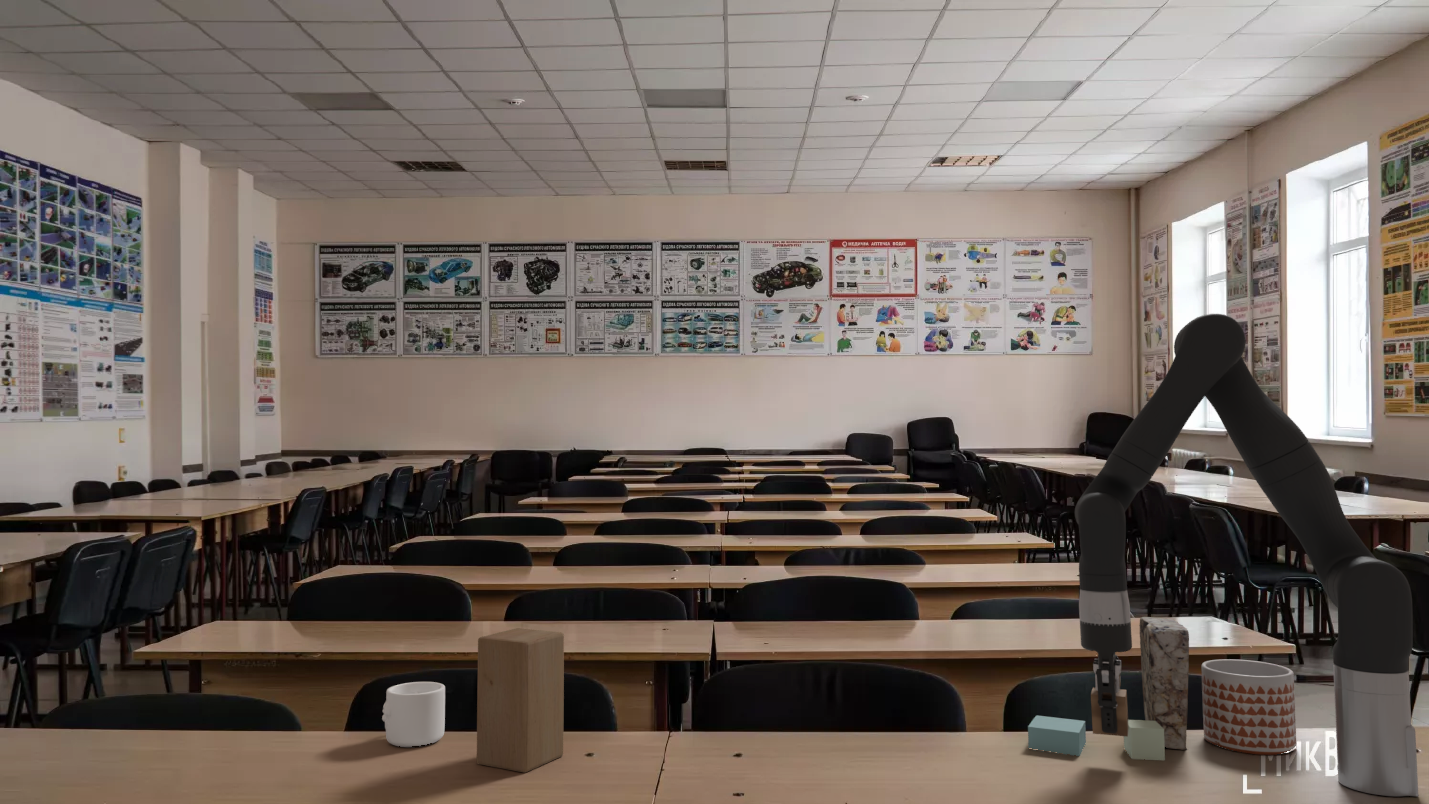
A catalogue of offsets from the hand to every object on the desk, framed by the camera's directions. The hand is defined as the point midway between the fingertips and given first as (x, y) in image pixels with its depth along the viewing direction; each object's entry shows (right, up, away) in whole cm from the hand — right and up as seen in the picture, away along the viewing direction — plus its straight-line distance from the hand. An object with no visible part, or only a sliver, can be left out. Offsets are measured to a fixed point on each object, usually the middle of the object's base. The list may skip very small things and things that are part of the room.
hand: (1110, 727), depth 152 cm
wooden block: (-94, -7, +3) cm, 94 cm away
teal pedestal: (-5, -7, +10) cm, 13 cm away
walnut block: (0, 0, 0) cm, 1 cm away
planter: (+28, -7, +11) cm, 31 cm away
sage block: (+8, -6, +5) cm, 11 cm away
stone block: (+15, -7, +14) cm, 21 cm away
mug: (-115, -7, +15) cm, 116 cm away
